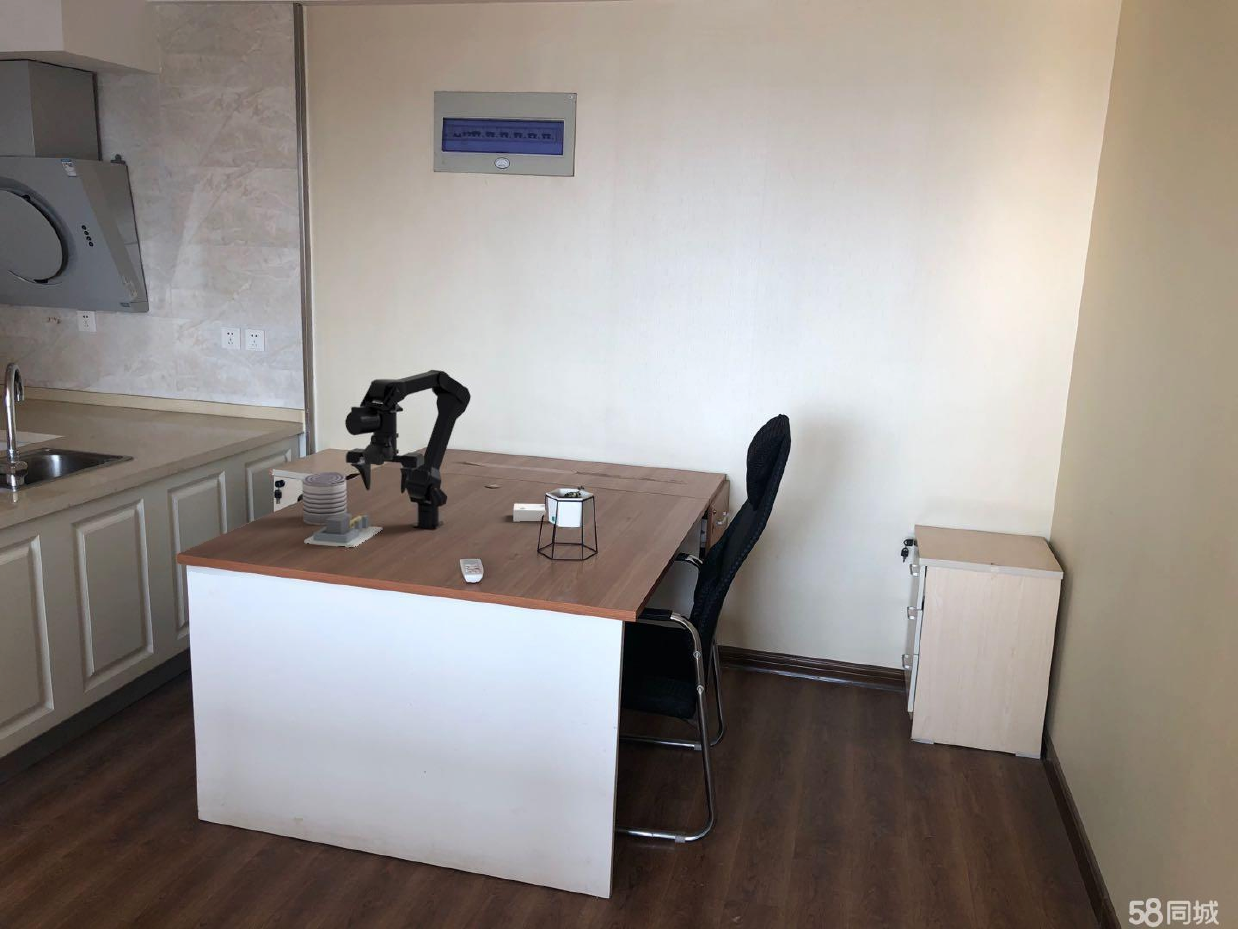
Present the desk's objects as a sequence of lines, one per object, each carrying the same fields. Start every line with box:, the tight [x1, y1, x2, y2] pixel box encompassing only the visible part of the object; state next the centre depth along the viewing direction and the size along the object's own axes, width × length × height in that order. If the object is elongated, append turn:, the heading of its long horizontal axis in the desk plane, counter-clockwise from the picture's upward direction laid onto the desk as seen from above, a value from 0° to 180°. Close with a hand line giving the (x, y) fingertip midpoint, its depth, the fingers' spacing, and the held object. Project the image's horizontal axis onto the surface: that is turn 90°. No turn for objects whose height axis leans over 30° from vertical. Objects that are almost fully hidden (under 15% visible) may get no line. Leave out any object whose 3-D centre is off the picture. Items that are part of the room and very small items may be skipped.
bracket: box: [512, 503, 546, 522], centre depth 274 cm, size 13×7×8 cm, turn 94°
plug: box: [325, 515, 363, 535], centre depth 250 cm, size 16×4×5 cm, turn 170°
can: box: [301, 471, 348, 526], centre depth 263 cm, size 11×11×12 cm
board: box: [304, 513, 383, 548], centre depth 249 cm, size 17×13×4 cm
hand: (385, 491), depth 248 cm, fingers open, 9 cm apart
